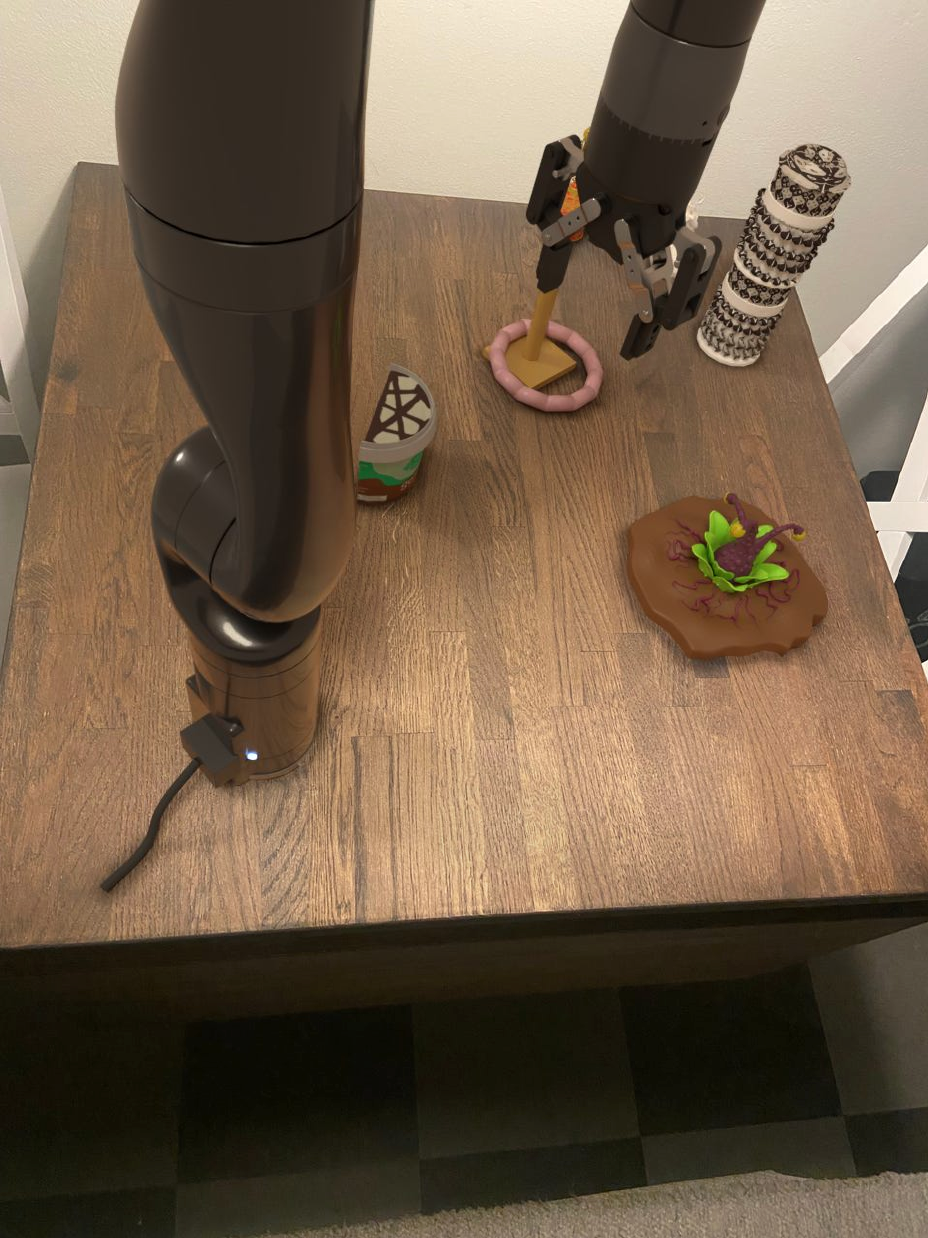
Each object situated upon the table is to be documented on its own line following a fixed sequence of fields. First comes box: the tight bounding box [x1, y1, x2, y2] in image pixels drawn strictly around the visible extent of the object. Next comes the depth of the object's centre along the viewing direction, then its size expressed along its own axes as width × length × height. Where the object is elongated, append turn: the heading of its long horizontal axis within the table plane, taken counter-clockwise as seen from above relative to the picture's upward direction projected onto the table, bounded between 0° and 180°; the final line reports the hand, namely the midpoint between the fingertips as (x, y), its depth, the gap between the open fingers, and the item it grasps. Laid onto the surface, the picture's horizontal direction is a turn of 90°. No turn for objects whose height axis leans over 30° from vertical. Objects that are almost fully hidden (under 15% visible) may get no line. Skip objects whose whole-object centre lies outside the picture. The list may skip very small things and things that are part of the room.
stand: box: [481, 286, 577, 391], centre depth 104 cm, size 8×8×13 cm
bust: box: [649, 199, 700, 285], centre depth 120 cm, size 12×8×11 cm
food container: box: [356, 362, 438, 506], centre depth 92 cm, size 12×6×10 cm, turn 168°
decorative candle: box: [696, 143, 852, 367], centre depth 107 cm, size 9×9×25 cm
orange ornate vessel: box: [561, 126, 590, 242], centre depth 120 cm, size 7×18×11 cm, turn 172°
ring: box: [488, 318, 605, 413], centre depth 107 cm, size 14×14×2 cm
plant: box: [626, 491, 829, 661], centre depth 90 cm, size 20×20×11 cm
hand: (589, 320), depth 67 cm, fingers open, 8 cm apart
